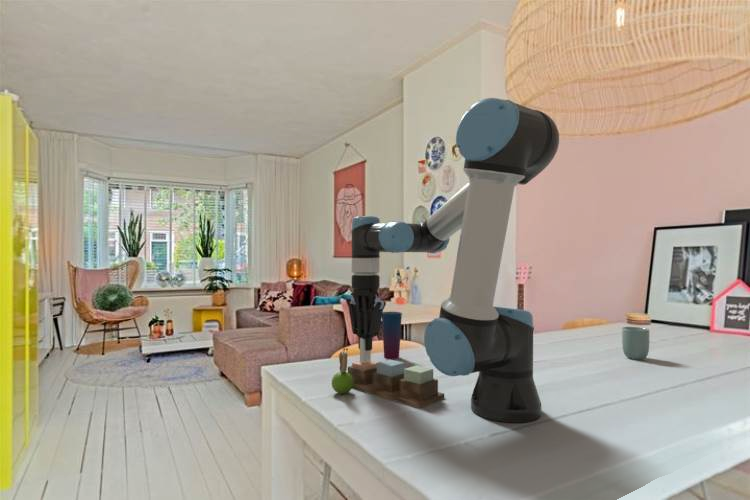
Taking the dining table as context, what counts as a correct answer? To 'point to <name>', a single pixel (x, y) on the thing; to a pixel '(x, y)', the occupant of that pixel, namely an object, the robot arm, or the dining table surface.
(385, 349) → the cup
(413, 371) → the sage key
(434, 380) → the wooden socket tray
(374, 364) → the terracotta key
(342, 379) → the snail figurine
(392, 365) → the slate key
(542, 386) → the dining table surface
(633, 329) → the cup
